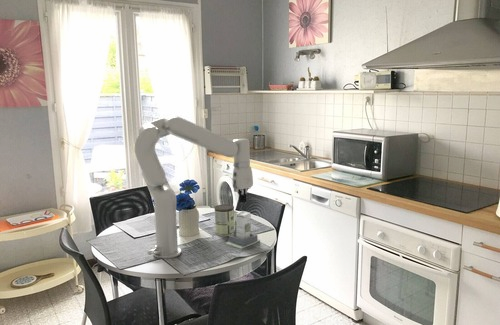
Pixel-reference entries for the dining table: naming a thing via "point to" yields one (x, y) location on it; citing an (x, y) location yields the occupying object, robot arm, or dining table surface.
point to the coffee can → (224, 220)
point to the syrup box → (242, 224)
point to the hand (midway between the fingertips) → (242, 201)
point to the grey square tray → (243, 240)
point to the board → (239, 245)
